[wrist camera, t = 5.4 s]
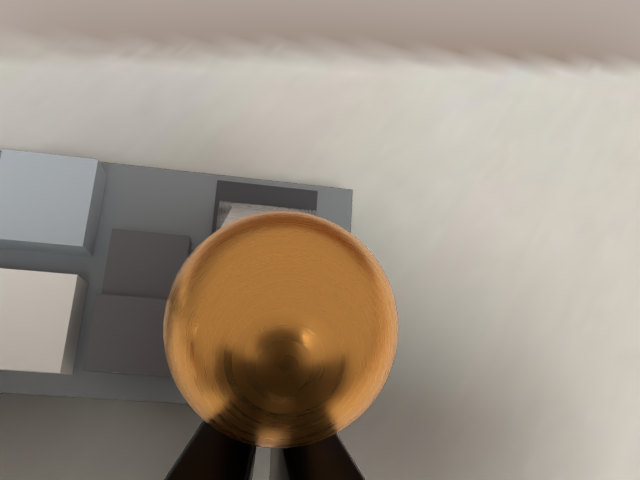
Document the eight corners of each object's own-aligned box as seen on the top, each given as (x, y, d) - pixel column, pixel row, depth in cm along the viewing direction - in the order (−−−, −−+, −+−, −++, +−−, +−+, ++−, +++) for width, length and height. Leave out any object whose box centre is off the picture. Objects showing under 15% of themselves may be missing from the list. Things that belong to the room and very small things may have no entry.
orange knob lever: (305, 278, 18) (410, 505, 6) (214, 270, 18) (131, 494, 6) (315, 189, 18) (446, 236, 6) (223, 179, 17) (152, 207, 5)
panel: (333, 411, 18) (351, 414, 15) (-303, 373, 16) (-416, 369, 13) (343, 204, 20) (362, 173, 17) (-223, 143, 18) (-307, 97, 15)
